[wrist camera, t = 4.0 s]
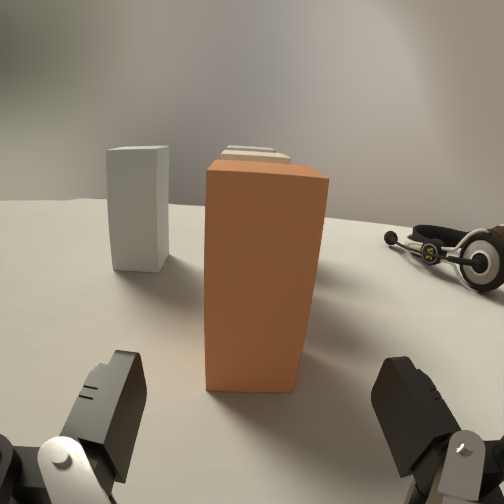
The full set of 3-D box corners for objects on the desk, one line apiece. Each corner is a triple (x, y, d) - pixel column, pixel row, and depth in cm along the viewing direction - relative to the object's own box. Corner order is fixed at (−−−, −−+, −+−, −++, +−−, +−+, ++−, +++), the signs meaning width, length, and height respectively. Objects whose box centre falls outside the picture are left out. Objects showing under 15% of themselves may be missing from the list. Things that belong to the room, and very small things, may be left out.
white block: (113, 269, 30) (106, 150, 25) (128, 251, 34) (124, 146, 30) (159, 272, 30) (157, 148, 26) (169, 253, 35) (169, 145, 30)
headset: (506, 237, 23) (369, 210, 40) (493, 310, 25) (365, 265, 42) (531, 228, 31) (428, 208, 48) (522, 279, 33) (424, 251, 50)
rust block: (206, 390, 17) (206, 169, 12) (211, 338, 21) (215, 159, 17) (292, 392, 17) (329, 178, 12) (283, 341, 22) (305, 165, 17)
